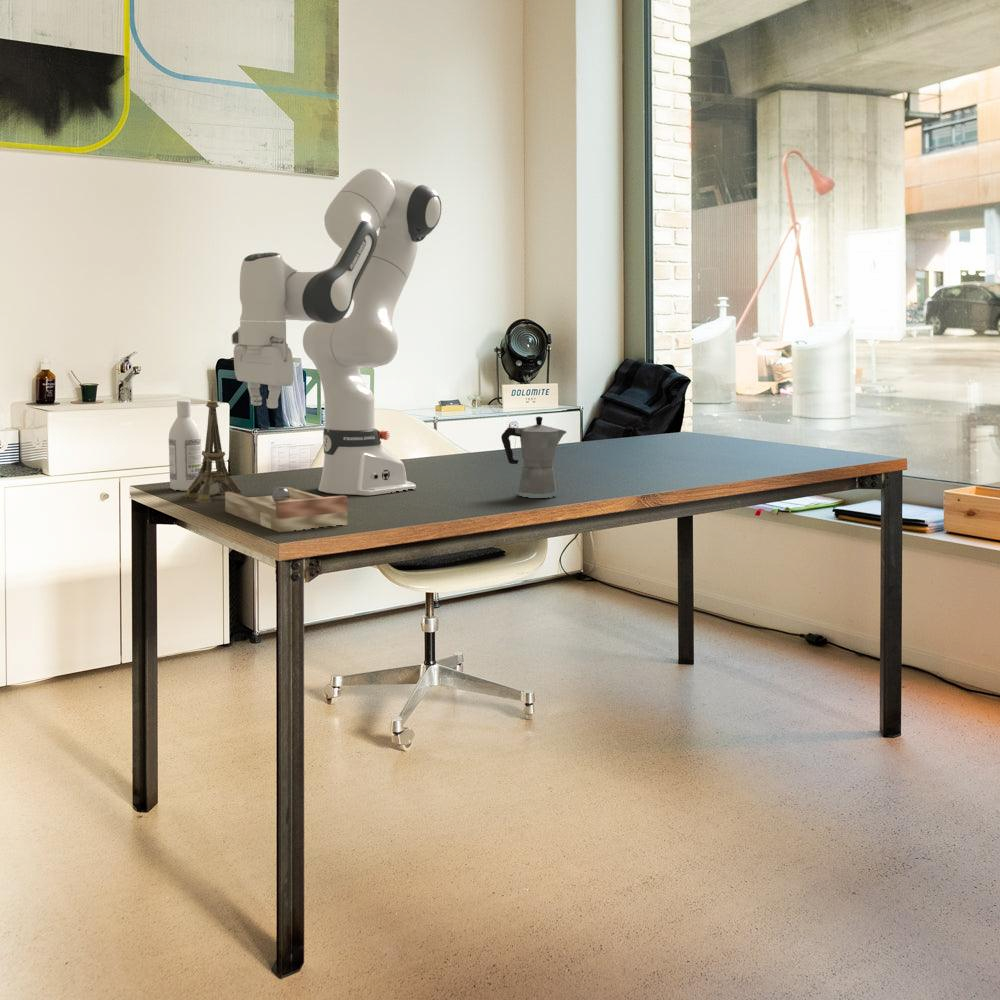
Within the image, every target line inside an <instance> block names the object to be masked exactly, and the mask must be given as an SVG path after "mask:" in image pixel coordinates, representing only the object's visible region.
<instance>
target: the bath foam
mask: <svg viewBox="0 0 1000 1000" xmlns="http://www.w3.org/2000/svg"><path fill="white" fill-rule="evenodd" d="M191 410H192V407H191V400H187V399H186V400H183V399H182V400H181V399H180V400H177V401H176V411H177V412H176V413H177V416H176V418H175V420H174V422H173V423H172V425H171V427H170V430H169V433H168V460H169V461H168V462H169V464H168V466H169V487H170V489H171V490H172V489H173V490H172V491H176V490H180V491H179V492H187V490H188V489H189V487H190V486H191V484H192V483H193V482H194V480H195V479H196V478H197V476H198V475H199V473H198V471H200V469H201V467H202V437H201V432H200V429H199V427H198V425H197V423H196V422H195V420H194V419H193V418H192V411H191ZM202 488H203V486H202V487H201V488H200V490H202Z"/></svg>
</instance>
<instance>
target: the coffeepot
mask: <svg viewBox="0 0 1000 1000" xmlns="http://www.w3.org/2000/svg"><path fill="white" fill-rule="evenodd" d="M535 421H536V424H533V425H529V426H526V427H525V426H524V427H514V426H513V427H507V428H506V429H505V430H504V431H503V433H502V434H501V442H502V445H503V448H504V451H505V453H506V458H507V461H508V464H511V465H517V464H518V463H519V460H518V459H514V452H513V450H512V448H511V440H510V437H511V436H514V437H519V439H520V450H521V456H522V457H521V458H522V459H523V466H522V470H521V477H520V482H519V488H518V492H522V493H532V494H538V493H539V494H545V493H552V492H556V493H557V489H556V480H555V473H554V467H553V466H554V460H555V455H556V454H555V453H556V448H557V446H558V444H559V443H560V441H561V439H562V438H563V436H564V435H565V434H567V430H564V429H559V428H555V427H551V426H547V425H544V424H542V423H543V417H542V416H536V417H535Z"/></svg>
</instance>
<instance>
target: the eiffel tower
mask: <svg viewBox="0 0 1000 1000" xmlns="http://www.w3.org/2000/svg"><path fill="white" fill-rule="evenodd" d="M213 391H214V390H213V389H211V396H210V397H211V398H210V399H211V400H210V401H209V400H208V401H206V402H207V403H206V405H205V406H206V407H207V408H208V414H207V415H208V417H207V429H206V437H205V446H204V447H205V448H204V450H201V456H202V457H203V459H202V462H201V465H202V467H201V469H200V471H198V473H199V475H198V476H197V478H196V479H195V480H194V482H193V483H192V484H191V486H190V487H189V489H188V490H187V491H186V493H184V494H182V495H183V496H182V497H184V496H185V498H186V497H189V498H196V499H194V502H196V503H198V504H205V503H212V502H213V501H212V499H211V498H210V491H211V486H212V485H213V484H216V483H217V484H218V490H217V492H216V493H217V494H218V495H220V496H225V492H233V493H236V494H239V495H242V496H243V493H242V492H241V490H240V489H239V488H238V486H237V485H236V483H235V482H234V480H233V479H232V478H231V476H230V474H231V473H230V472H228V471H229V470H228V469H227V467H226V462H225V456H226V451H223V447H222V443H221V437H220V436H221V435H220V428H219V422H218V415H217V408H219V407H220V405H219V404H218V403H219V402H218V401H214V393H213ZM213 462H215V469H216V470H212V469H213ZM201 487H202V488H201ZM200 488H201V489H200Z"/></svg>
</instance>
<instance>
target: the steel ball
mask: <svg viewBox="0 0 1000 1000" xmlns="http://www.w3.org/2000/svg"><path fill="white" fill-rule="evenodd" d="M285 487H286V486H278V487H276V488H275V489H274V490H273V491H272V493H271V496H272V498H273V501H274V502H275V503H276V501H287V500H289V499H290V492H289V491H288V489H286V488H285Z"/></svg>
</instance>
